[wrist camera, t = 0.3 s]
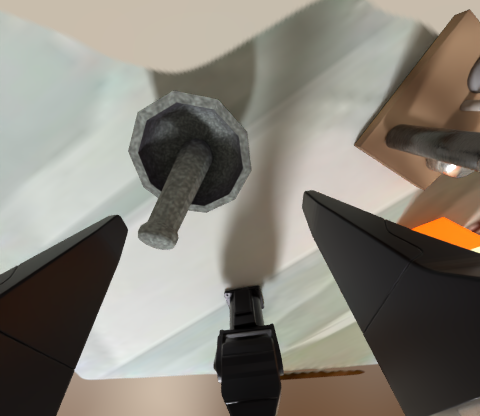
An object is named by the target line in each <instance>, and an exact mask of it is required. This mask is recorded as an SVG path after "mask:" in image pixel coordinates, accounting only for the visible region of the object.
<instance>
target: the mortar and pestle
mask: <svg viewBox="0 0 480 416" xmlns="http://www.w3.org/2000/svg"><path fill="white" fill-rule="evenodd" d="M128 152H129V154H130V157H131V159H132V161H133V164H134V166H135V168H136V171H137V173H138V175H139V178H140V180H141V182H142V185H143V187H144V188H145V189H147V190H148V191H150V192H151V193H152V194H154V195H155V196H156V197H158V200H157V202H156V205H155V207H154V209H153V211H152V213H151V216H150V218H149V220H148V222H146V223H145V224H143V225H141V227H140V229H139V231H138V238H139V239H140V240H141V241H142V242H143V243H145V244H146V245H149V246H151V247H153V248H157V249H162V250H169V249H173V248H174V247H175V245H176V243H177V241H178V234H177V232H178V230H179V228H180V226H181V224H182V222H183V220H184V218H185V216H186V213H187V211H188V210H189V211H197V212H206V213H207V212H209V211H211V210H213V209H215V208H217V207H219V206H222V205H224V204H226V203H228V202H230V201H232V200H234V199H235V198H236V197H237V195H238V193H239V191H240V190H241V188H242V186H243V184H244V183H245V181H246V179H247V177H248V176H249V174H250V172H251V162H250V153H249V144H248V135H247V131H246V130H245V129H244V128H243V127H242V126H241V125H240V123H239V122H238V121H237V120H236V119H235V118H234V117H233V115H232V114H231V113H230V112H229V111H228V110H227V109H226V108H225V106H224V105H223V104H222V103H221V102H220V101H219V100H218V99H214V98H209V97H204V96H199V95H194V94H189V93H184V92H179V91H174V90H173V91H172V92H170V93H168V94H167V95H165V96H163V97H162V98H160V99H159V100H157V101H155V102H154V103H152V104H150V105H149V106H147V107H146V108H144V109H142V110H141V111H139V112H138V113H137V117H136V121H135V125H134V129H133V134H132V138H131V142H130V146H129V150H128Z"/></svg>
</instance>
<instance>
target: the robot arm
mask: <svg viewBox="0 0 480 416" xmlns="http://www.w3.org/2000/svg"><path fill="white" fill-rule="evenodd" d="M302 209H303V212H304V215H305V217H306V220H307V223H308V226H309V228H310V231H311V234H312V236H313V238H314V240H315V242H316V244H317V246H318V248H319V250H320V252H321V253H322V255H323V257H324V259H325V261H326V263H327V265H328V267H329V269H330V271H331V273H332V275H333V277H334V279H335V281H336V282H337V284H338V286H339V288H340V290H341V292H342V294H343V296H344V298H345V300H346V302H347V304H348V306H349V308H350V309H351V311H352V313H353V315H354V317H355V319H356V321H357V323H358V325H359V327H360V329H361V331H362V333H364V334H363V335H364V337H365V339H366V341H367V343H368V345H369V346H370V348H371V350H372V352H373V354H374V356H375V358H376V360H377V362H378V364H379V366H380V367H381V370H382V372H383V373H384V375H385V377H386V379H387V381H388V383H389V385H390V387H391V389H392V391H393V393H394V395H395V397H396V398H397V401H398V402H399V404H400V406H401V408H402V410H403V412H404V414H405V416H480V253H478V252H475V251H472V250H469V249H466V248H463V247H460V246H457V245H454V244H451V243H449V242H446V241H443V240H440V239H437V238H434V237H431V236H428V235H426V234H423V233H420V232H417V231H414V230H411V229H409V228H406V227H404V226H401V225H399V224H396V223H393V222H391V221H389V220H384V219H383V218H381V217H378V216H376V215H373V214H371V213H369V212H366V211H364V210H361V209H359V208H356V207H354V206H351V205H349V204H346V203H344V202H341V201H339V200H336V199H334V198H331V197H329V196H326V195H324V194H321V193H319V192H316V191H314V190H310V191H305V192H304V195H303V204H302ZM127 233H128V229H127V226H126V225H125V223H124V221H123V220H122V218H121V217H120V216H119V215H111V216H108V217H106V218H104V219H102V220H100V221H99V222H97V223H95V224H93V225H91V226H89V227H88V228H86V229H84V230H82V231H80V232H78V233H76V234H75V235H73V236H71V237H69V238H67V239H65V240H64V241H62V242H60V243H58V244H56V245H54V246H53V247H51V248H49V249H47V250H45V251H43V252H41V253H40V254H38V255H36V256H34V257H32V258H30V259H29V260H27V261H25V262H23V263H21V264H20V265H19V266H16V267H14V268H12V269H10V270H8V271H6V272H5V273H3V274H1V275H0V416H56V415H57V412H58V410H59V407H60V405H61V402H62V400H63V398H64V395H65V393H66V390H67V388H68V385H69V383H70V381H71V378H72V376H73V373H74V369H75V368H76V365H77V363H78V361H79V358H80V356H81V353H82V351H83V348H84V346H85V344H86V341H87V339H88V336H89V334H90V331H91V329H92V326H93V324H94V322H95V319H96V317H97V314H98V312H99V309H100V307H101V304H102V302H103V300H104V297H105V295H106V292H107V290H108V287H109V285H110V282H111V280H112V278H113V275H114V273H115V270H116V268H117V265H118V263H119V260H120V257H121V254H122V250H123V247H124V243H125V240H126V236H127ZM224 295H225V298H226V301H227V303H228V306H229V309H230V330H220V334H219V336H218V340H217V351H216V356H215V360H214V369H215V371H216V372H217V376H218V381H219V383H221V393H222V397H223V399H224V402H225V404H226V406H227V409H228V411H229V413H230V416H277V412H278V408H279V403H280V398H281V382H280V375H284V372H283V364H282V358H281V353H280V349H279V344H278V341H277V337H276V333H275V329H274V325H273V324H270V325H264V320H263V314H262V309H263V308H264V305H263V300H262V296H261V291H260V287H259V286H253V287H248V288H243V289H237V290H232V291H226V292H225V293H224Z"/></svg>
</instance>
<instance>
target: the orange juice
mask: <svg viewBox="0 0 480 416" xmlns="http://www.w3.org/2000/svg"><path fill="white" fill-rule="evenodd" d="M411 230H414V231H417V232H420V233H423V234H426V235H428V236H431V237H434V238H437V239H440V240H443V241H446V242H449V243H451V244H454V245H457V246H460V247H463V248H466V249H469V250H472V251H475V252H478V253H480V236H479V235H477V234H475V233H473V232H471V231H470V230H468V229H466V228H464V227H462V226H460V225H458V224H456V223H454V222H452V221H450V220H448V219H446V218H444V217H442V218H439V219H437V220H434V221H432V222H429V223H426V224H424V225H421V226H419V227H416V228H413V229H411Z"/></svg>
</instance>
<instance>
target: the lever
mask: <svg viewBox="0 0 480 416" xmlns="http://www.w3.org/2000/svg"><path fill="white" fill-rule="evenodd" d="M384 143H386V145H387V147H389V148H391V149H395V150H399V151H403V152H406V153H410V154H414V155H418V156H422V157H425V158H426V166H427V167H428V169H430V170H433V171H436V172H439V173H442V174H445V175H448V176H451V177H455V178H459V177H464V176H466V175H469V174H470V173H472V172H474V171H478V172H480V132H473V131H463V130H454V129H445V128H435V127H426V126H417V125H407V124H399V125H397V126H395V127H393V128H392V129H391V130H390V131H389V133H388V134H387V136H386V140H385V142H384Z"/></svg>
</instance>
